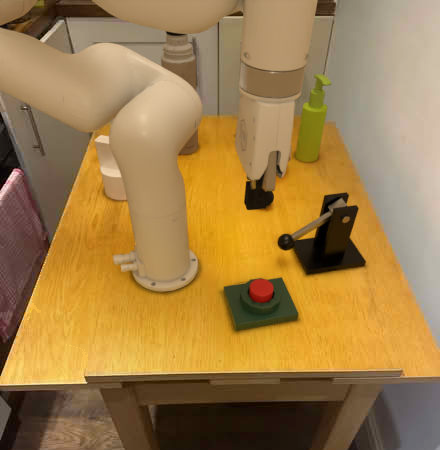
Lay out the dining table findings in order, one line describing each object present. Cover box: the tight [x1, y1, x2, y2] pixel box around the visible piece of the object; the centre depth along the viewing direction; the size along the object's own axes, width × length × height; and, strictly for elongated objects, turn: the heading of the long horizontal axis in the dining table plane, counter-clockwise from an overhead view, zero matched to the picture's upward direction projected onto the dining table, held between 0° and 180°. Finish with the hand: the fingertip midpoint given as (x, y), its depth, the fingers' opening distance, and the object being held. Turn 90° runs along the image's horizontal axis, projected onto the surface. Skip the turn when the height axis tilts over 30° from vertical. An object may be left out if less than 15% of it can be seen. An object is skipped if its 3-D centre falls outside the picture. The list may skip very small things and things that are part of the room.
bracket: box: [292, 191, 367, 276], centre depth 77 cm, size 12×9×13 cm
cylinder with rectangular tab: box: [94, 134, 127, 201], centre depth 92 cm, size 9×9×12 cm
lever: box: [277, 198, 348, 252], centre depth 75 cm, size 14×3×3 cm
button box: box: [223, 276, 300, 332], centre depth 71 cm, size 11×9×4 cm
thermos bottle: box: [160, 31, 199, 155], centre depth 100 cm, size 8×8×28 cm
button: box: [249, 278, 274, 303], centre depth 69 cm, size 4×4×2 cm
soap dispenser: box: [294, 73, 332, 163], centre depth 100 cm, size 6×7×20 cm
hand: (255, 206), depth 61 cm, fingers closed
